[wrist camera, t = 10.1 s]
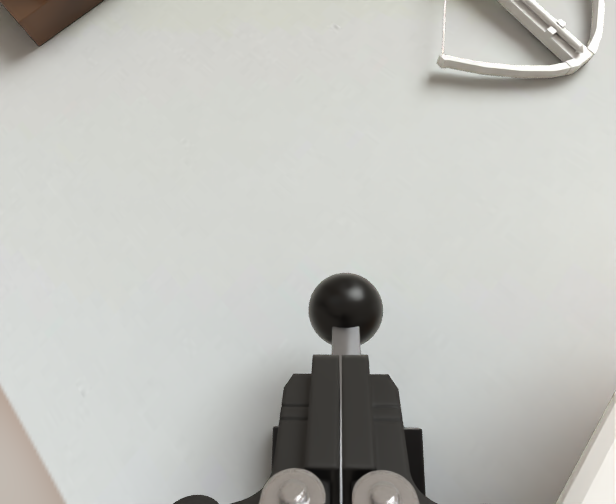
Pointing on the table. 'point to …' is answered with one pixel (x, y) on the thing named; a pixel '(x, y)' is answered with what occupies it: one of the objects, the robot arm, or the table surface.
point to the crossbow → (548, 32)
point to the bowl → (595, 465)
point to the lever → (345, 319)
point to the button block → (47, 15)
